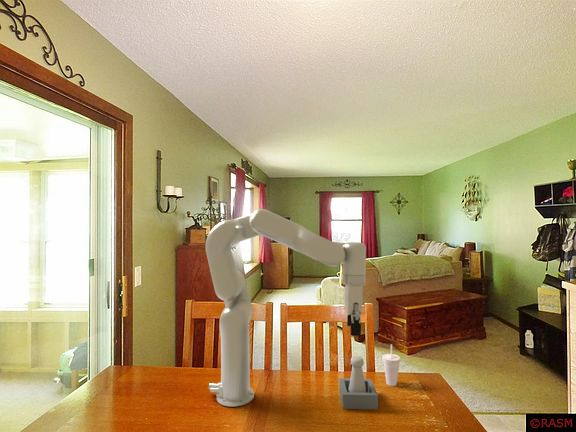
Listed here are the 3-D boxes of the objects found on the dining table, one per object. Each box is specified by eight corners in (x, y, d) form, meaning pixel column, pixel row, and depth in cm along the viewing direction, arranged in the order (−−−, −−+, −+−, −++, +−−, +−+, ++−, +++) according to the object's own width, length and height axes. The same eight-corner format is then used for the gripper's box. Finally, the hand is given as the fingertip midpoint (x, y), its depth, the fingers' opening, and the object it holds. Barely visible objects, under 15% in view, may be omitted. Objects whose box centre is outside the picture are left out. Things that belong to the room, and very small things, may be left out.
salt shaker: (366, 402, 111) (366, 362, 112) (348, 400, 113) (348, 360, 113) (365, 393, 117) (365, 355, 117) (348, 391, 118) (348, 353, 118)
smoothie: (401, 381, 128) (401, 343, 128) (399, 389, 122) (399, 349, 122) (383, 378, 130) (383, 341, 131) (381, 385, 125) (380, 346, 125)
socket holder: (342, 408, 110) (342, 394, 110) (339, 391, 121) (339, 378, 121) (378, 409, 109) (377, 395, 109) (371, 392, 120) (371, 379, 120)
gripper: (340, 274, 125) (340, 322, 125) (345, 284, 108) (345, 339, 108) (361, 275, 125) (361, 322, 125) (370, 284, 107) (369, 339, 107)
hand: (353, 330), depth 116 cm, fingers open, 9 cm apart
